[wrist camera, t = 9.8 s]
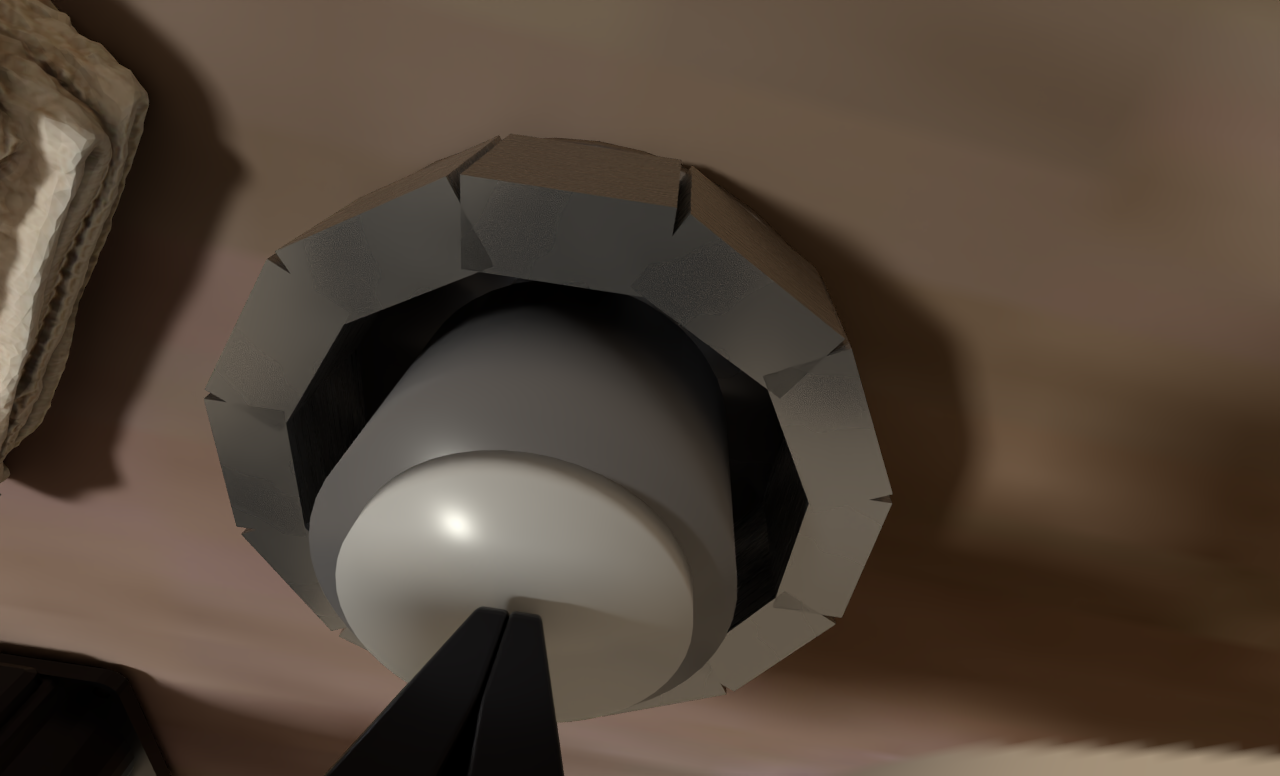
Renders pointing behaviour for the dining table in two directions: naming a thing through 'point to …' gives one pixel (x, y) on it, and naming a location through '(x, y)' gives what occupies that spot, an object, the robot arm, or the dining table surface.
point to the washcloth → (53, 194)
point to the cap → (542, 496)
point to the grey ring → (581, 257)
